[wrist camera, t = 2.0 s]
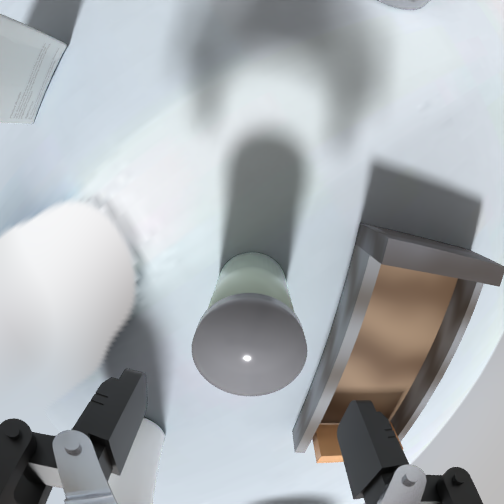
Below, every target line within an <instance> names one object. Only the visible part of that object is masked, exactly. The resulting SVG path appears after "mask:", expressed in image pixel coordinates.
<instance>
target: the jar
mask: <svg viewBox="0 0 504 504" xmlns="http://www.w3.org/2000/svg"><path fill="white" fill-rule="evenodd" d="M192 356H193V360H194V363H195V365H196V367H197V369H198V371H199V372H200V374H201V375H202V376H203V377H204V378H205V379H206V380H207V381H208V382H209V383H211V384H212V385H214V386H215V387H217V388H219V389H221V390H223V391H225V392H228V393H231V394H235V395H240V396H260V395H266V394H270V393H273V392H275V391H278V390H280V389H282V388H284V387H285V386H287V385H288V384H290V383H291V382H292V381H293V380H294V379H295V378H296V377H297V376H298V375H299V373H300V372H301V370H302V369H303V366H304V364H305V361H306V357H307V344H306V340H305V336H304V332H303V329H302V325H301V323H300V321H299V319H298V317H297V316H296V314H295V313H294V310H293V306H292V302H291V298H290V294H289V290H288V287H287V283H286V279H285V275H284V272H283V270H282V268H281V267H280V265H279V264H278V263H277V262H276V261H275V260H274V259H272V258H271V257H269V256H267V255H265V254H262V253H257V252H247V253H242V254H239V255H237V256H235V257H233V258H232V259H230V260H229V261H228V262H227V263H226V264H225V266H224V267H223V269H222V270H221V273H220V276H219V278H218V281H217V284H216V287H215V290H214V293H213V296H212V298H211V301H210V304H209V307H208V309H207V310H206V312H205V313H204V314H203V316H202V317H201V319H200V321H199V324H198V327H197V329H196V332H195V335H194V338H193V342H192Z"/></svg>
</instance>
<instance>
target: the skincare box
mask: <svg viewBox="0 0 504 504" xmlns="http://www.w3.org/2000/svg"><path fill="white" fill-rule="evenodd" d="M66 47H67V44H65V43H64V42H62V41H60V40H58V39H55V38H53V37H51V36H49V35H47V34H45V33H43V32H41V31H39V30H36V29H34V28H32V27H30V26H28V25H25V24H23V23H21V22H19V21H16V20H14V19H12V18H9V17H7V16H4V15H2V14H0V123H13V124H33V123H34V120H35V117H36V114H37V112H38V109H39V106H40V103H41V101H42V98H43V96H44V93H45V91H46V89H47V86H48V84H49V82H50V79H51V77H52V75H53V73H54V71H55V68H56V66H57V64H58V62H59V60H60V58H61V56H62V54H63V52H64V50H65V49H66Z"/></svg>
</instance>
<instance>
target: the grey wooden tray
mask: <svg viewBox="0 0 504 504" xmlns="http://www.w3.org/2000/svg"><path fill="white" fill-rule="evenodd" d="M503 274H504V266H502V265H500V264H498V263H496V262H494V261H492V260H490V259H488V258H486V257H484V256H482V255H480V254H477V253H475V252H473V251H471V250H467V249H464V248H460V247H457V246H453V245H449V244H445V243H442V242H438V241H434V240H430V239H426V238H422V237H418V236H414V235H410V234H406V233H402V232H398V231H393V230H389V229H385V228H381V227H376V226H372V225H367V224H363V223H360V227H359V231H358V235H357V239H356V244H355V248H354V252H353V256H352V259H351V263H350V267H349V271H348V275H347V278H346V282H345V285H344V289H343V292H342V296H341V299H340V303H339V306H338V309H337V312H336V316H335V319H334V322H333V325H332V328H331V331H330V334H329V337H328V340H327V343H326V346H325V349H324V352H323V355H322V358H321V361H320V363H319V366H318V369H317V372H316V374H315V377H314V380H313V382H312V385H311V388H310V390H309V393H308V395H307V398H306V400H305V403H304V405H303V408H302V410H301V412H300V415H299V417H298V420H297V422H296V424H295V427H294V429H293V431H292V432H293V440H294V449H295V452H297V453H305V451H306V449H307V447H308V446H309V444H310V442H311V440H312V438H313V436H314V434H315V432H316V430H317V428H318V426H319V424H328V425H335V424H339V423H340V421H341V419H342V417H343V415H344V414H345V412H346V410H347V408H348V406H349V404H350V402H351V401H352V400H370V401H371V402H372V403H373V405H374V407H375V410H376V412H379V411H380V412H381V413H382V414H383V415H384V416H385V417H386V418H387V419H388V420H389V422H391V423H392V425H393V427H394V429H395V432H396V434H397V436H398V438H399V440H400V442H401V440H402V439H403V438H404V436H405V435H406V434H407V432H408V431H409V429H410V428H411V427H412V425H413V424H414V422H415V421H416V419H417V418H418V416H419V415H420V413H421V412H422V410H423V409H424V407H425V406H426V404H427V402H428V401H429V399H430V398H431V396H432V394H433V393H434V391H435V389H436V387H437V386H438V384H439V382H440V380H441V379H442V377H443V375H444V373H445V371H446V370H447V368H448V366H449V364H450V362H451V360H452V358H453V356H454V354H455V352H456V350H457V348H458V346H459V344H460V341H461V339H462V337H463V335H464V333H465V330H466V328H467V326H468V323H469V321H470V319H471V316H472V314H473V311H474V309H475V306H476V303H477V301H478V298H479V295H480V292H481V290H482V287H483V284H489V285H495V286H500V284H501V281H502V277H503Z"/></svg>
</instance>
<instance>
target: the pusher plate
mask: <svg viewBox="0 0 504 504" xmlns="http://www.w3.org/2000/svg"><path fill="white" fill-rule="evenodd" d="M390 424H391V426H392V428H393V429H392V430H394V433H395V435H396V438H397V439H398V441H399V443H400V440H399V438H398V436H397V434H396V432H395V429H394V427H393V425H392V423H391V422H390ZM338 425H339V424H335V425H328V424H319V426H318V428H317V430H316V432H315V434H314V436H313V438H312V439H313V444H314V450H315V455H316V461H317V463H329V462H344V461H343V457H342V454H341V450H340V446H339V443H338V439H337V429H338ZM400 445H401V443H400ZM401 448H402V450H403V447H402V445H401Z"/></svg>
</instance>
